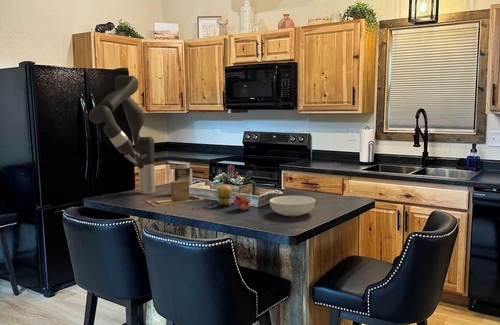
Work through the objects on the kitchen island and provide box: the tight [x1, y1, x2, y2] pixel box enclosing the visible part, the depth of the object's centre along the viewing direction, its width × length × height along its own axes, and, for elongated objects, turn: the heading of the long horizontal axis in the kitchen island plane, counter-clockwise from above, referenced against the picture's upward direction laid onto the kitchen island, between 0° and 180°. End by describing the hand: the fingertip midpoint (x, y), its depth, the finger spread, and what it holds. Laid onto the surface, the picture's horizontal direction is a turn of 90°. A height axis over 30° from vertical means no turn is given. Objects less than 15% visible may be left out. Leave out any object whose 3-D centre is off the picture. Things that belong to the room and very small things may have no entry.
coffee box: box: [174, 166, 193, 186], centre depth 257 cm, size 9×6×16 cm
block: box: [170, 180, 190, 202], centre depth 237 cm, size 5×8×10 cm, turn 121°
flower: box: [232, 193, 253, 212], centre depth 219 cm, size 10×9×8 cm
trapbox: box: [145, 194, 206, 207], centre depth 236 cm, size 14×27×2 cm, turn 121°
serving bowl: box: [269, 195, 316, 217], centre depth 208 cm, size 21×21×7 cm
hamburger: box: [216, 183, 233, 206], centre depth 228 cm, size 8×7×12 cm
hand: (142, 167), depth 228 cm, fingers closed
